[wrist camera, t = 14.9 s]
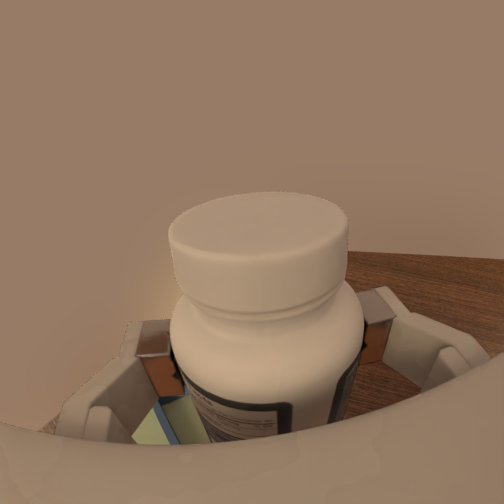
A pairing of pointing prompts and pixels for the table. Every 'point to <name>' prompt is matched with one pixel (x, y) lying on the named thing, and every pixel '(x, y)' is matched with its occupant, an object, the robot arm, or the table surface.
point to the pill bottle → (265, 313)
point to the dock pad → (172, 423)
